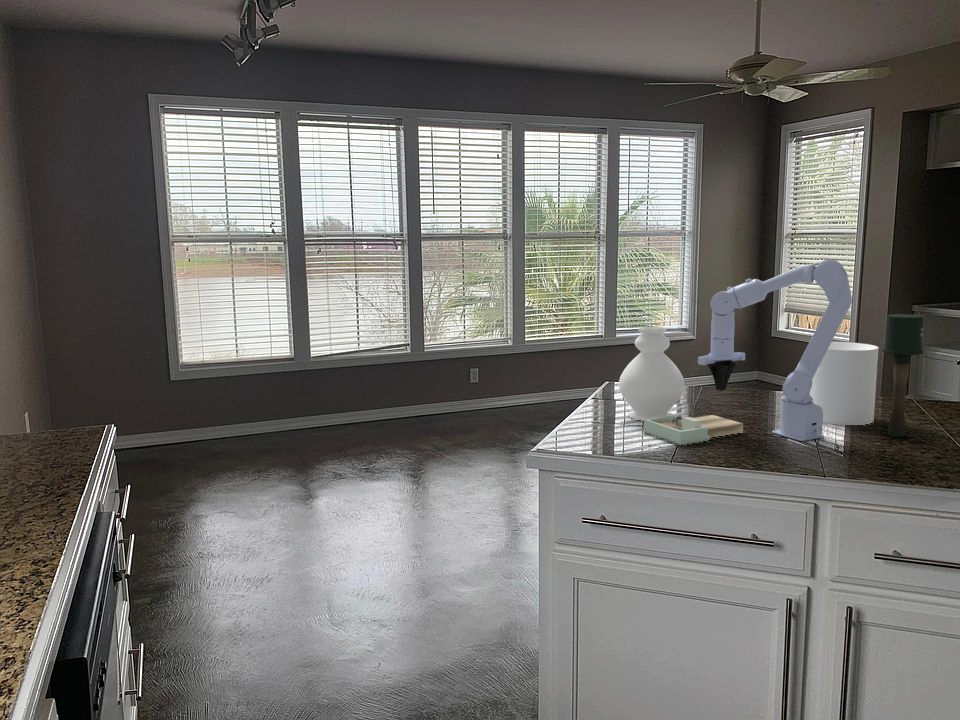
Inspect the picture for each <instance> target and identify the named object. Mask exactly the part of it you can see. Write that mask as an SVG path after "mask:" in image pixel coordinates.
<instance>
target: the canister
mask: <svg viewBox="0 0 960 720" xmlns="http://www.w3.org/2000/svg"><path fill="white" fill-rule="evenodd" d="M879 348H880V347H879V346H877V345H873V344H869V343H861V342H847V341H845V342H844V341H832V342H831V344H830V346H829V348H828V350H827V352H826V353H825V355H824V357H823V359H822V361H821V363H820V365H819V367H818V369H817V371H816V373H815V375H814V377H813V379H812V388H811V390H810V394H809V395H810V396H811V397H812V398H813V402H814V404H816V405H819V406H820V407H821V408H822V411H823V424H826V423H827V425H832V424H837V425H836V426H842V425H863V426H866V425H865V424H869V425H871V424H870V423H872V422H873V423H874V421H875V408H876V407H875V406H876V405H875V403H876V392H877V391H876V390H877V378H878V377H877V376H878V362H879V361H878V360H879ZM873 423H872V424H873Z"/></svg>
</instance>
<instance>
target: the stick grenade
mask: <svg viewBox="0 0 960 720" xmlns="http://www.w3.org/2000/svg"><path fill="white" fill-rule="evenodd" d="M924 322H925V317H924V316H923V315H920V314H907V313H906V314H903V313H900V314H899V313H896V314H894V313H892V314H888V315H886V321H885V332H884V334H885V335H884V346H883V348H882V349H881V350H882V352H883V353H885V354H889V355H892V357H893V391H892V405H891V414H890V417H889V424H888V425H889V426H888V429H887V434H888V436H890V437H891V436H892V437H891V438H895V437H898V438H897V439H901V438H900V437H902V438H903V437H905V435H906V428H905V427H906V418H905V405H906V396H907V395H906V394H907V382H908V379H909V371H910V370H909V369H910V362H911V361H910V360H911V358H912V356H918V355H919V356H920V355H922V354H924V350H923V349H922V348H923V347H922V346H923V337H924V324H925V323H924Z"/></svg>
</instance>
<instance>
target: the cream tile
mask: <svg viewBox="0 0 960 720" xmlns="http://www.w3.org/2000/svg"><path fill="white" fill-rule="evenodd" d="M681 420H682V430H688V429H695V428H701V420H698V419H695V417H692V416H684V417H682V418H681Z"/></svg>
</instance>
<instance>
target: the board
mask: <svg viewBox="0 0 960 720" xmlns="http://www.w3.org/2000/svg"><path fill="white" fill-rule="evenodd" d="M694 418H695V419H698V420H701V427H708V433H707V435H708V436H710V438H711V439H713V438H712V437H717V438H719V437H718V436H723V437H726V436H725V435H729V436H731V435H730V434H735V435H738V434H737V433H741V434H743V433H744V423H743V422H739V421H736V420H732V419H729V418H725V417H721V416H718V415H715V414H709V415H702V416H697V417H694ZM676 425H677V426H680V427H682V419H677V421H676Z"/></svg>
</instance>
